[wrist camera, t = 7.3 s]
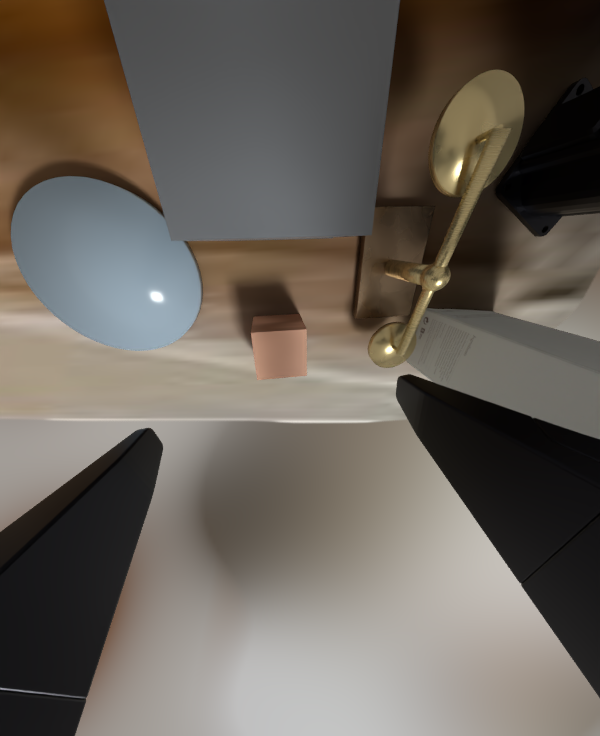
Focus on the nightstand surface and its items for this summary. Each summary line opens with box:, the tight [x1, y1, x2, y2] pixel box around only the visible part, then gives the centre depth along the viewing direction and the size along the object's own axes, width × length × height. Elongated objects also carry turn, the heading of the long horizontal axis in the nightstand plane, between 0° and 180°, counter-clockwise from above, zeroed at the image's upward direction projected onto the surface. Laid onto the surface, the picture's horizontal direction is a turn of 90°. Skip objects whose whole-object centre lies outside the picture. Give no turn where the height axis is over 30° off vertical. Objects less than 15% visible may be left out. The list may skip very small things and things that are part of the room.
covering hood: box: [104, 0, 400, 241], centre depth 8 cm, size 7×7×5 cm
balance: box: [353, 70, 524, 368], centre depth 15 cm, size 16×5×8 cm, turn 1°
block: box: [251, 314, 307, 380], centre depth 18 cm, size 4×4×4 cm
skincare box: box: [406, 308, 600, 439], centre depth 16 cm, size 8×6×15 cm
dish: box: [11, 176, 203, 351], centre depth 16 cm, size 11×11×1 cm
